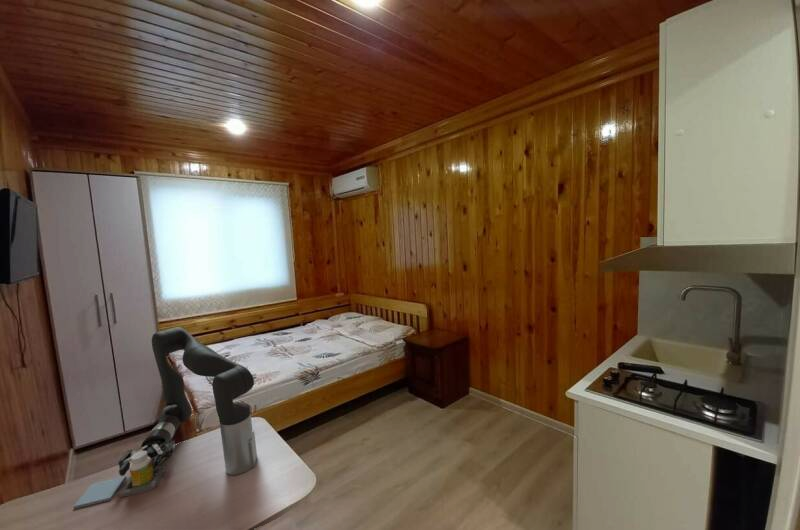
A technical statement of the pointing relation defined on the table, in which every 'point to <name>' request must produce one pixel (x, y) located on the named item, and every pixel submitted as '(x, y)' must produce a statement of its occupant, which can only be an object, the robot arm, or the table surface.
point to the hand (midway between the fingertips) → (138, 469)
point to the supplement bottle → (141, 469)
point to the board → (100, 492)
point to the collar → (128, 491)
